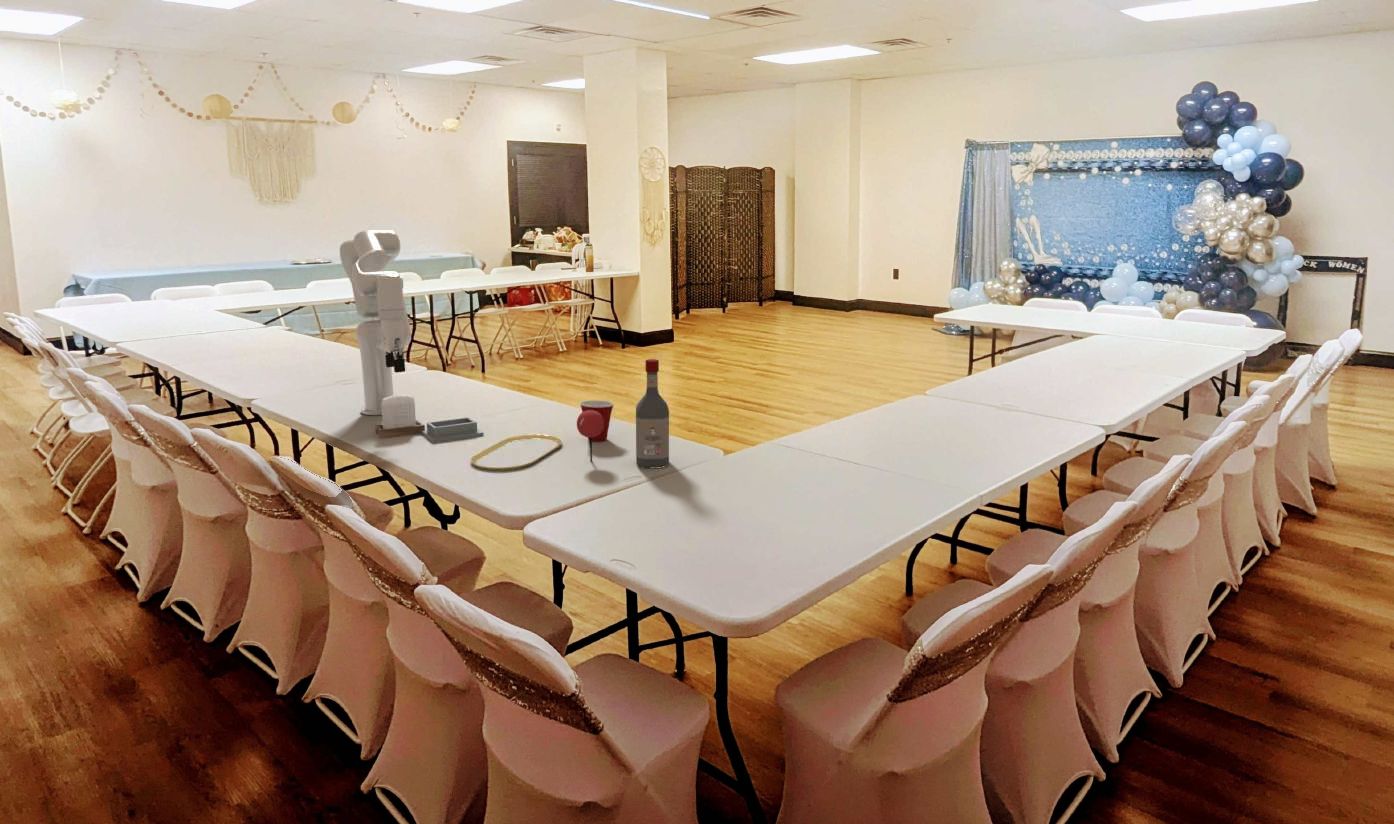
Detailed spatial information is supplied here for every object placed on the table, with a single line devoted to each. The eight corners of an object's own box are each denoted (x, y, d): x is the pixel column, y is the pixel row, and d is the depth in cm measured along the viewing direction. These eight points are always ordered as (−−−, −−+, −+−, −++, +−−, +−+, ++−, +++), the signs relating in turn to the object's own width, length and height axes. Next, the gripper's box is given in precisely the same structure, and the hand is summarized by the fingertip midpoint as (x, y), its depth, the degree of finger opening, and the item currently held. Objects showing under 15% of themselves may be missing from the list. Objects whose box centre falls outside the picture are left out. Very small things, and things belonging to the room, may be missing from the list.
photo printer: (414, 429, 292) (411, 391, 289) (418, 432, 288) (415, 394, 285) (381, 433, 286) (378, 395, 283) (385, 436, 283) (382, 398, 280)
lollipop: (578, 457, 263) (576, 407, 259) (604, 457, 264) (603, 407, 260) (577, 465, 256) (575, 414, 252) (604, 465, 256) (603, 413, 253)
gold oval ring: (572, 442, 280) (572, 437, 280) (518, 475, 248) (518, 470, 247) (517, 437, 286) (517, 432, 285) (458, 469, 253) (458, 463, 253)
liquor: (669, 468, 254) (669, 363, 247) (636, 468, 253) (635, 363, 246) (667, 458, 263) (667, 357, 255) (636, 459, 262) (635, 357, 255)
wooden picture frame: (375, 432, 287) (374, 425, 286) (418, 427, 294) (417, 419, 293) (381, 438, 281) (380, 430, 280) (425, 432, 288) (424, 425, 287)
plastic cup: (620, 436, 286) (620, 399, 283) (606, 445, 276) (605, 407, 273) (589, 433, 289) (588, 396, 286) (574, 441, 279) (573, 404, 276)
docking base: (421, 433, 287) (420, 421, 286) (470, 427, 295) (470, 415, 294) (432, 442, 277) (432, 430, 276) (483, 435, 285) (482, 423, 284)
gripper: (372, 312, 283) (376, 366, 287) (386, 318, 269) (390, 375, 273) (396, 310, 287) (400, 363, 291) (411, 317, 273) (415, 372, 277)
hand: (395, 369), depth 282 cm, fingers open, 9 cm apart
